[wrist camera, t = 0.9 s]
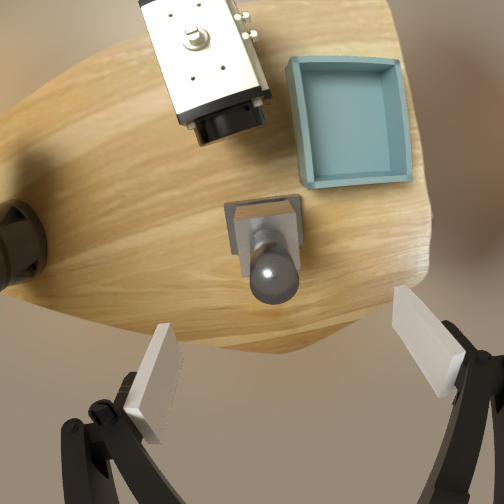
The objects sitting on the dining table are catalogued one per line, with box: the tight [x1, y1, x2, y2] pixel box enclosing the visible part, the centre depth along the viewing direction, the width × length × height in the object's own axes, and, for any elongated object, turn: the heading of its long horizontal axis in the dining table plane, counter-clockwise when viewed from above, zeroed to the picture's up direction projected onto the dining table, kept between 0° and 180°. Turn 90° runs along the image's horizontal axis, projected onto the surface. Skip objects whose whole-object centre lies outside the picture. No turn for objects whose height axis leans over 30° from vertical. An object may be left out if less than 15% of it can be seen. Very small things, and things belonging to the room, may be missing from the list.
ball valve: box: [138, 0, 273, 147], centre depth 26 cm, size 18×8×18 cm, turn 18°
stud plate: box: [224, 194, 304, 255], centre depth 38 cm, size 10×7×9 cm
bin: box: [285, 56, 412, 189], centre depth 34 cm, size 14×16×6 cm
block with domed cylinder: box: [234, 200, 301, 305], centre depth 32 cm, size 7×7×16 cm
